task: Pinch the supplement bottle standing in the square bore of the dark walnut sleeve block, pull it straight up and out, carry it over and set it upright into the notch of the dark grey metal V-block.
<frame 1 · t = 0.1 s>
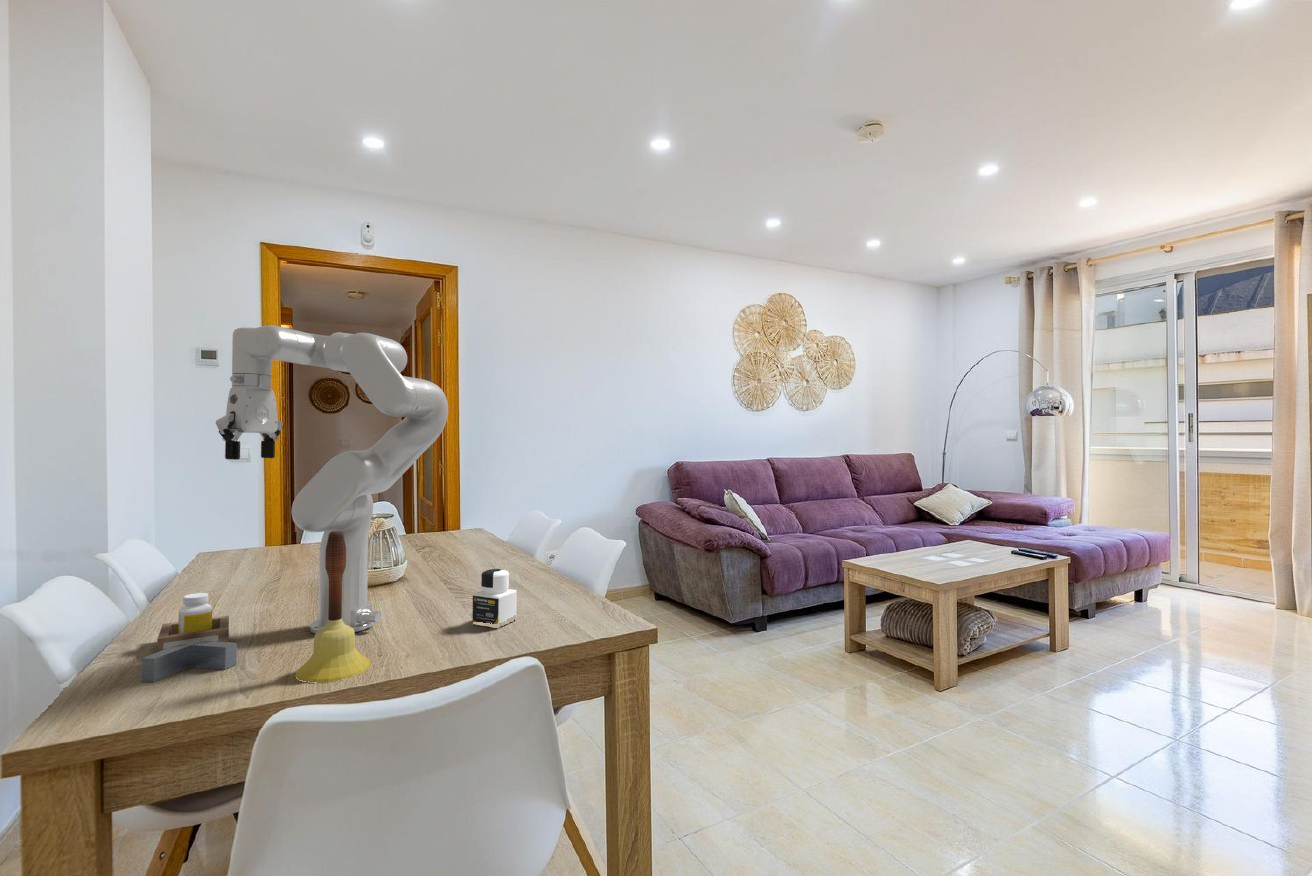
hand: (250, 458, 138), 37 cm above the table, tool pointing down, fingers open, 9 cm apart
medicine bottle: (494, 624, 139), on the table
sleeve block: (195, 644, 122), on the table
v block: (190, 668, 109), on the table
supplement bottle: (195, 645, 122), on the table
handbell: (334, 671, 110), on the table
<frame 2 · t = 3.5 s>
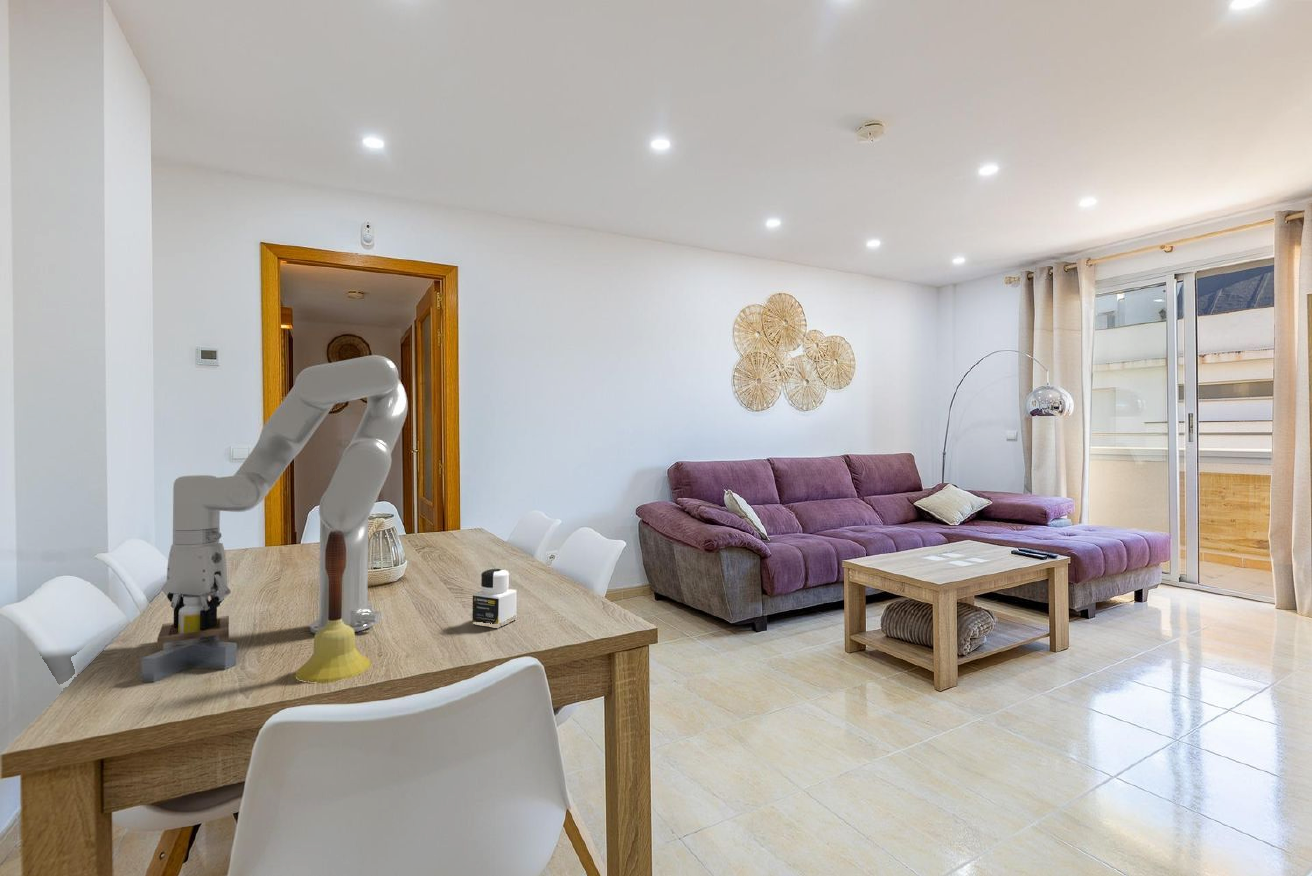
hand: (195, 626, 122), 4 cm above the table, tool pointing down, fingers closed on supplement bottle, 5 cm apart
supplement bottle: (195, 645, 122), on the table, touching gripper
everything else where it was.
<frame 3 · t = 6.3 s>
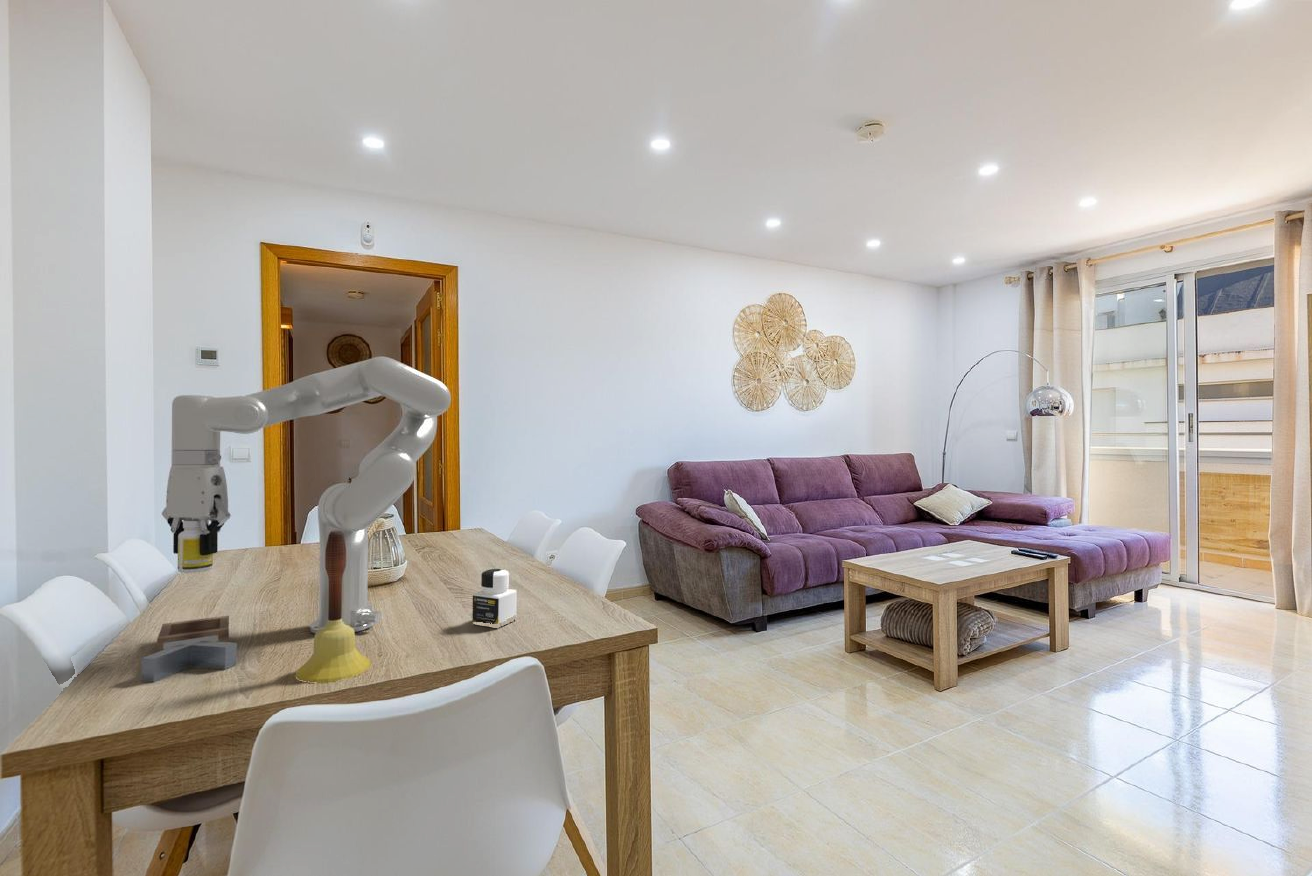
hand: (195, 552, 117), 19 cm above the table, tool pointing down, fingers closed on supplement bottle, 5 cm apart
supplement bottle: (195, 571, 117), point 16 cm above the table, touching gripper
everything else where it was.
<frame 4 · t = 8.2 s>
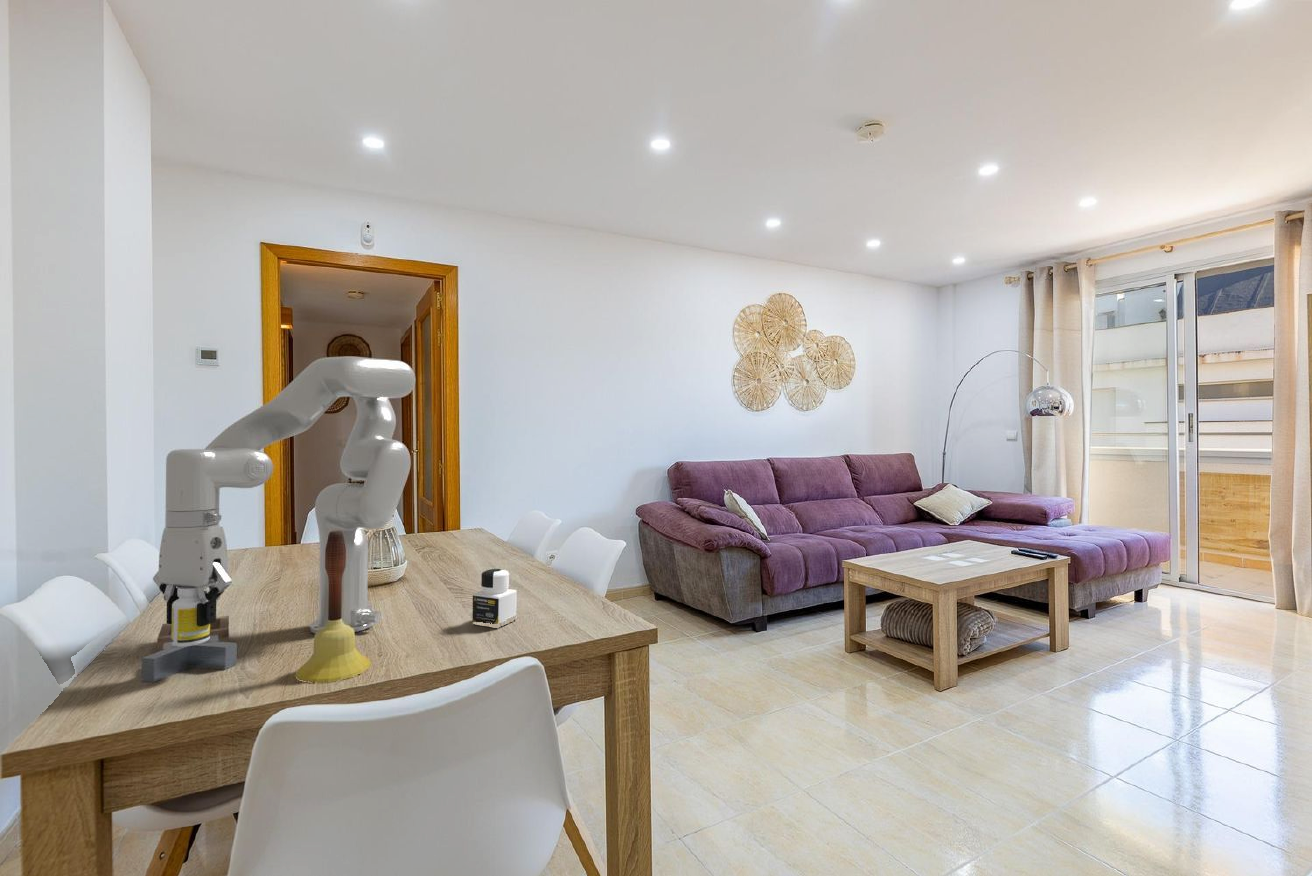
hand: (191, 622, 106), 9 cm above the table, tool pointing down, fingers closed on supplement bottle, 5 cm apart
supplement bottle: (190, 643, 106), point 6 cm above the table, touching gripper
everything else where it was.
when the fingers open (5 cm above the table, at t = 9.5 s): supplement bottle drops 1 cm, on the table.
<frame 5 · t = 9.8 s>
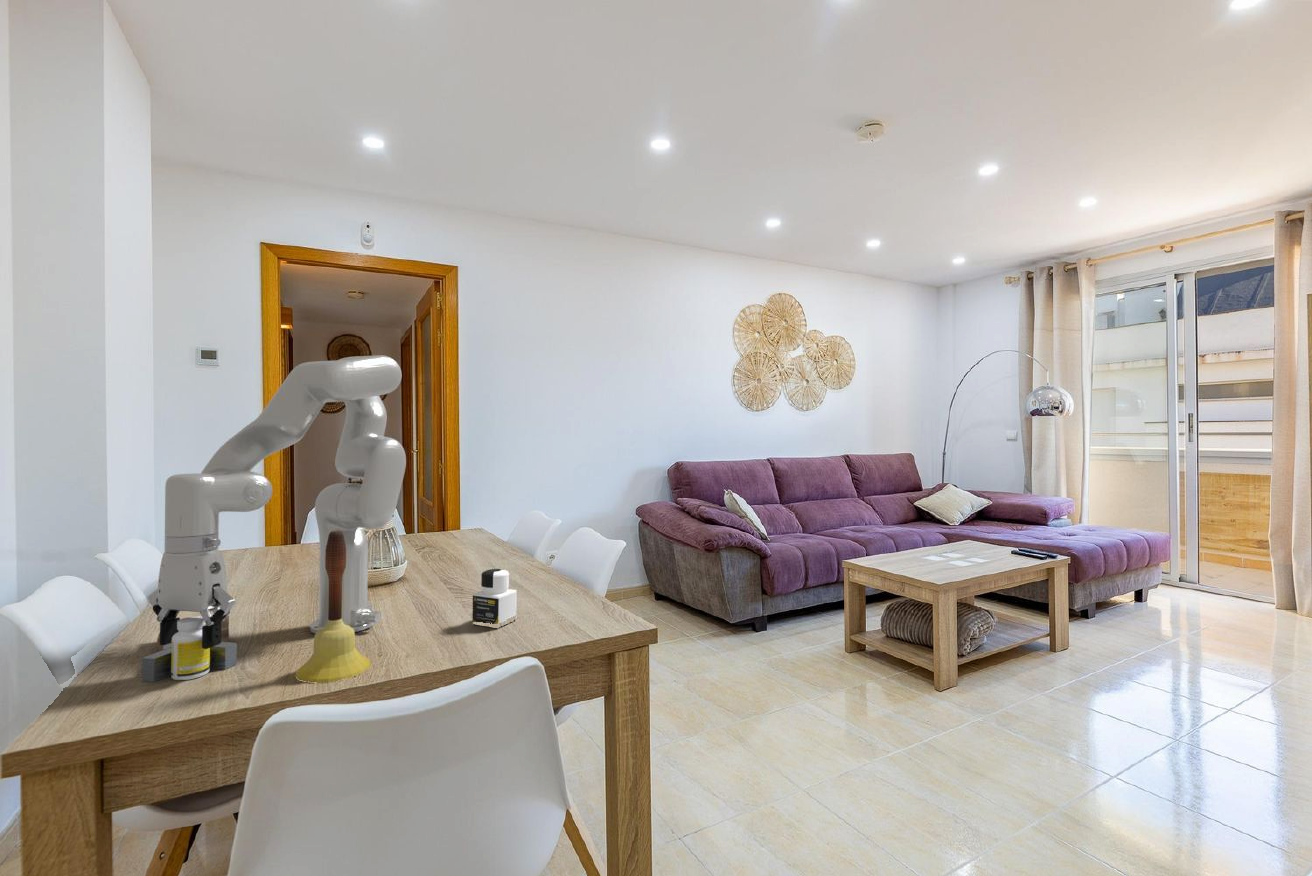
hand: (190, 644, 106), 5 cm above the table, tool pointing down, fingers open, 8 cm apart
supplement bottle: (190, 676, 107), on the table
everything else where it was.
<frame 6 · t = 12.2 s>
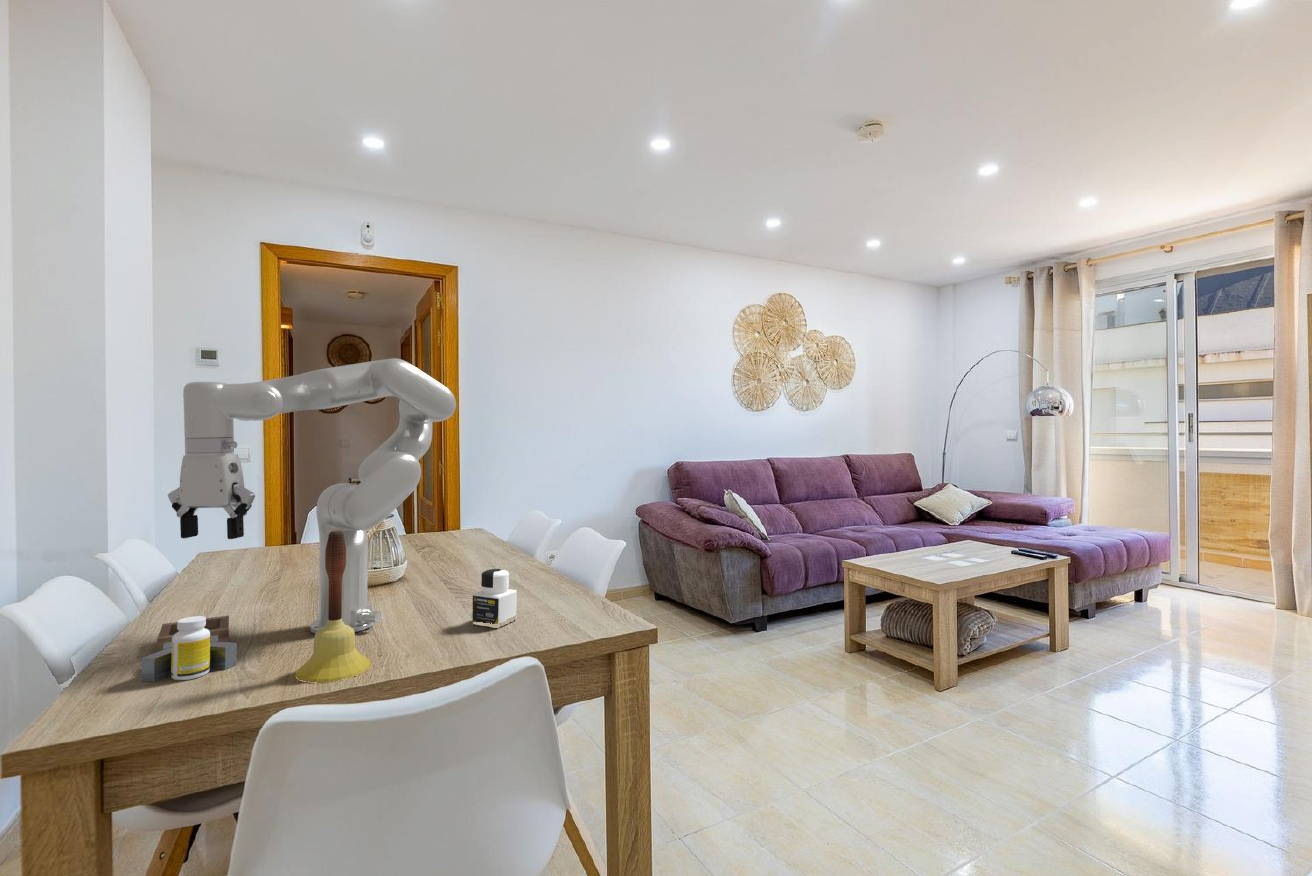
hand: (212, 537, 116), 23 cm above the table, tool pointing down, fingers open, 9 cm apart
nothing on the table moved.
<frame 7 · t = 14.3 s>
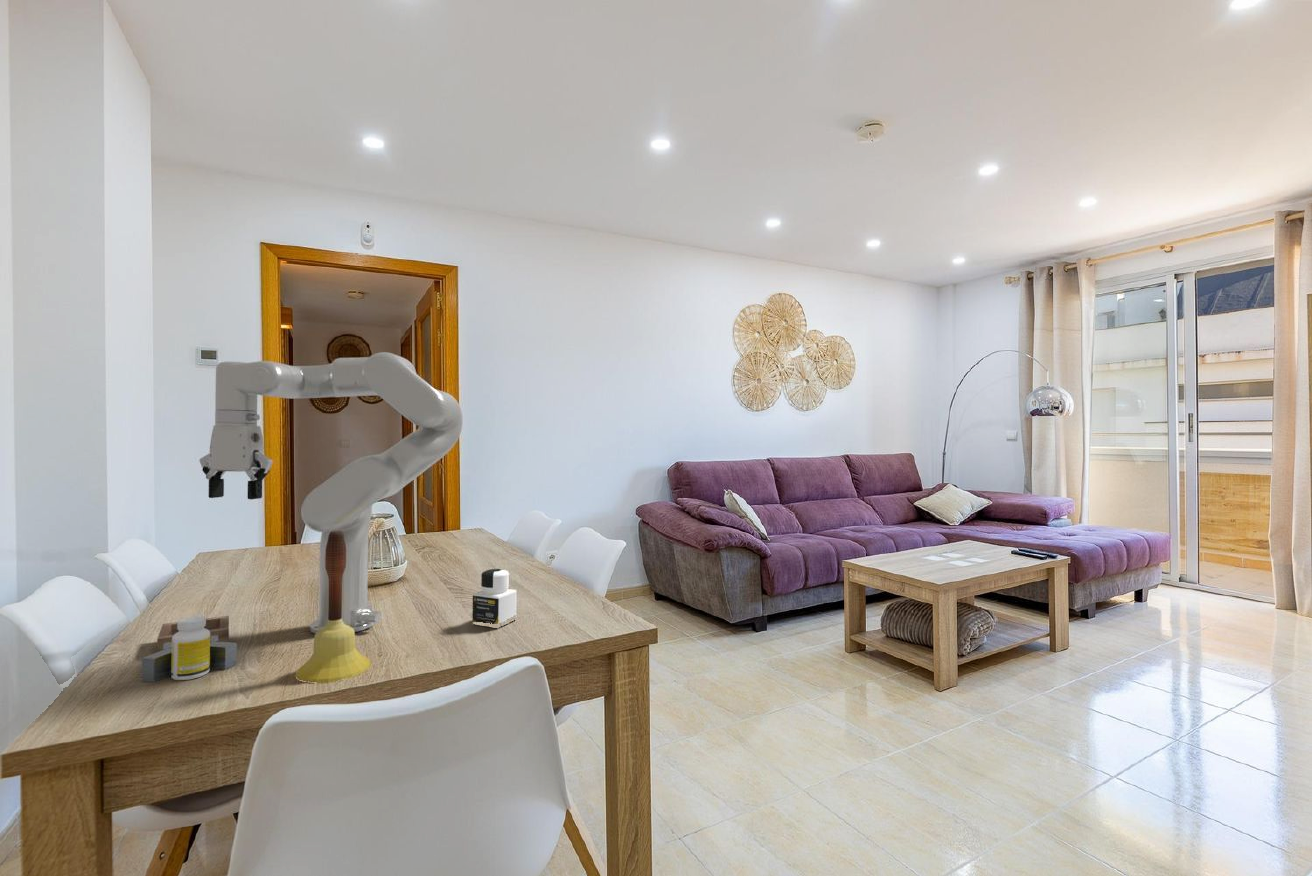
hand: (235, 498, 132), 28 cm above the table, tool pointing down, fingers open, 9 cm apart
nothing on the table moved.
at the end: supplement bottle 0.1 cm from the target spot on the v block, point 0.0 cm above the v block's base; supplement bottle tilted 0°; the gripper is holding nothing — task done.
